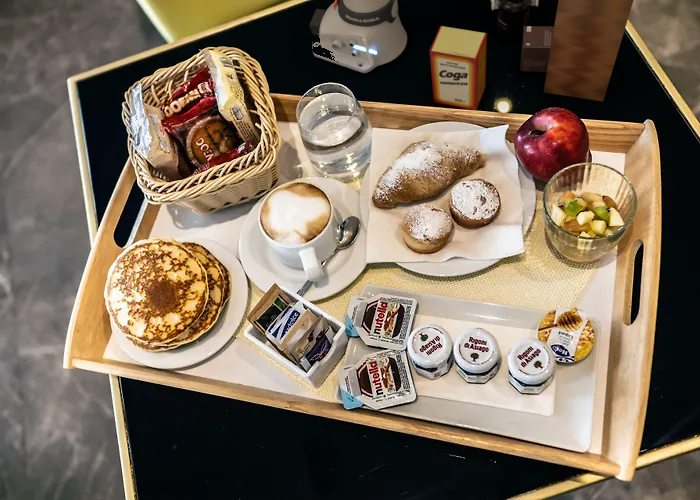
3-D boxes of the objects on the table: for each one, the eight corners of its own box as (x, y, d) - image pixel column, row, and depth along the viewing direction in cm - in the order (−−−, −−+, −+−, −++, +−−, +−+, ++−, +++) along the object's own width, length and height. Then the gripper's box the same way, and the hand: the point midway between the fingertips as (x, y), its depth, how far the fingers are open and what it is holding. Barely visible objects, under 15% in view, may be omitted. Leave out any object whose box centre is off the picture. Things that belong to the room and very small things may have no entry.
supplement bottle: (492, 38, 135) (495, -5, 125) (501, 15, 138) (504, -29, 127) (523, 43, 133) (528, 0, 123) (531, 20, 136) (537, -24, 125)
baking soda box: (434, 102, 132) (429, 49, 118) (443, 79, 134) (440, 24, 120) (476, 110, 129) (476, 57, 115) (485, 87, 131) (487, 31, 117)
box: (548, 73, 130) (552, 48, 123) (519, 72, 131) (522, 47, 125) (550, 51, 132) (554, 25, 126) (521, 50, 134) (524, 25, 127)
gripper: (465, -61, 124) (465, 11, 128) (569, -71, 120) (566, 3, 125) (464, -57, 130) (465, 12, 134) (564, -67, 126) (561, 5, 131)
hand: (514, 8), depth 129 cm, fingers closed on supplement bottle, 7 cm apart
